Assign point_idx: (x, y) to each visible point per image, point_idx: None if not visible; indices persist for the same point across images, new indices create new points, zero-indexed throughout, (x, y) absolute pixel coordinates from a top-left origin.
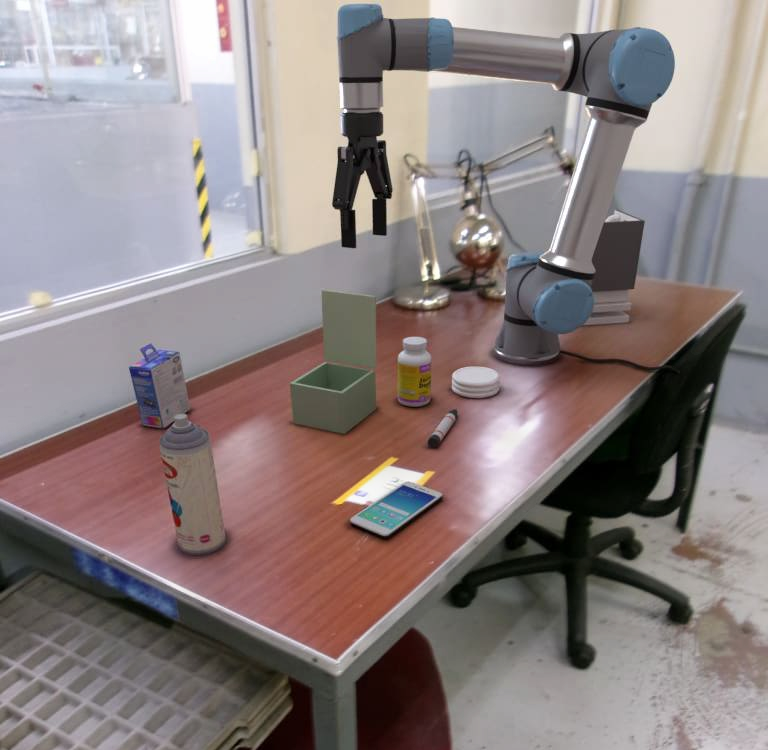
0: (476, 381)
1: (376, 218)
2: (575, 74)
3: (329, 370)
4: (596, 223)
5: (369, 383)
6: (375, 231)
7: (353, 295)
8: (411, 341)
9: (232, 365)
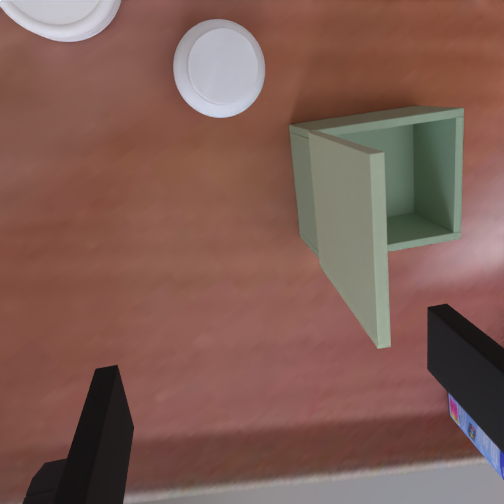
0: None
1: (118, 473)
2: None
3: None
4: None
5: (335, 124)
6: (128, 426)
7: (386, 231)
8: (237, 70)
9: (261, 475)
